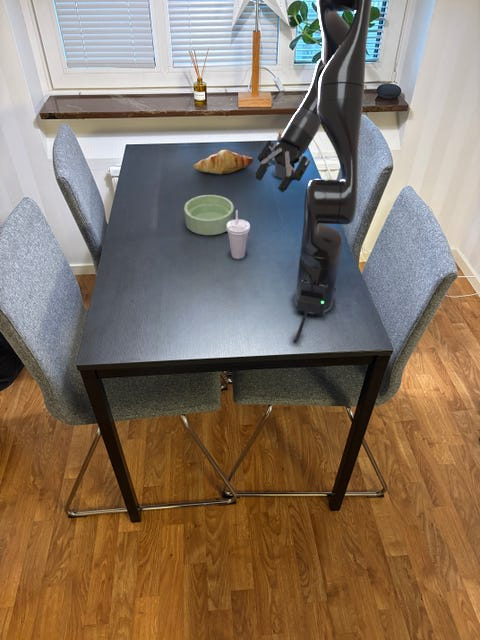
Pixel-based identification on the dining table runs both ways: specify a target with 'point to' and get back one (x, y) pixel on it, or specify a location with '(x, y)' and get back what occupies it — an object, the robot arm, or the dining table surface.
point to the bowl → (208, 214)
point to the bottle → (278, 169)
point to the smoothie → (238, 236)
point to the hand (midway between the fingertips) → (268, 184)
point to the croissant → (223, 162)
